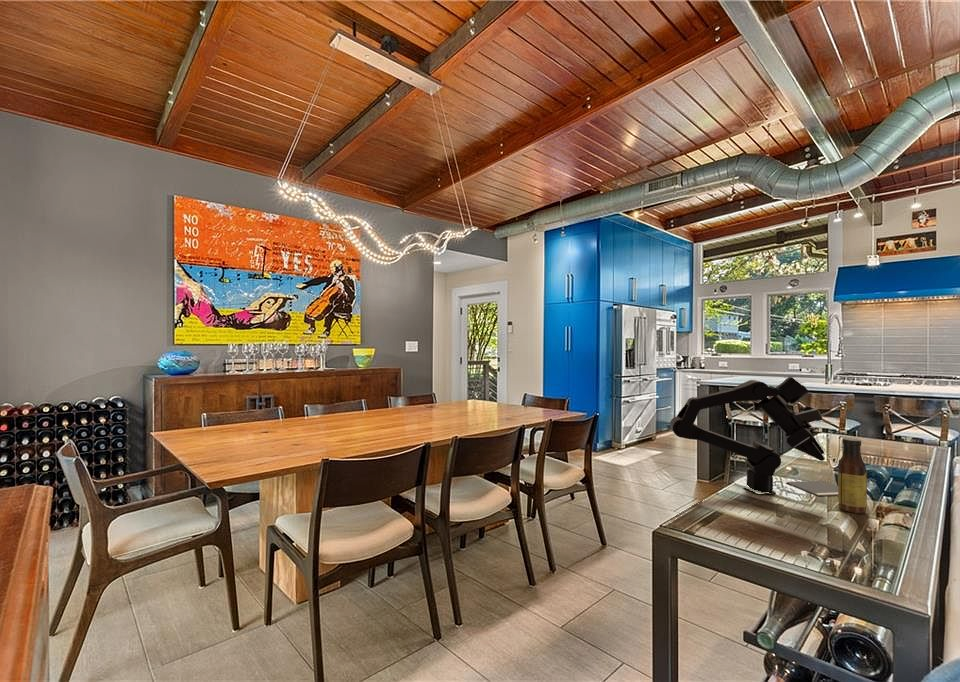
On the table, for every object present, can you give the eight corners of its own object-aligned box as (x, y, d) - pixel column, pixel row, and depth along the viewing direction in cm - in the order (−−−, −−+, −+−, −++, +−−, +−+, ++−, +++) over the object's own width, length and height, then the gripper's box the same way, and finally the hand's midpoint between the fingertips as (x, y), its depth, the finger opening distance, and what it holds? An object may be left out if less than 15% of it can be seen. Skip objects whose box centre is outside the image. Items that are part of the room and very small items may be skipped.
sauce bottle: (872, 514, 123) (874, 442, 123) (849, 514, 123) (851, 442, 123) (853, 505, 130) (855, 437, 129) (831, 505, 130) (833, 436, 129)
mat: (818, 496, 137) (818, 494, 137) (786, 483, 149) (786, 481, 149) (858, 494, 139) (858, 493, 139) (823, 481, 151) (823, 480, 151)
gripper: (802, 401, 127) (851, 446, 121) (804, 394, 142) (847, 435, 136) (768, 424, 132) (813, 469, 126) (773, 416, 147) (813, 456, 141)
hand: (823, 456), depth 132 cm, fingers open, 9 cm apart
